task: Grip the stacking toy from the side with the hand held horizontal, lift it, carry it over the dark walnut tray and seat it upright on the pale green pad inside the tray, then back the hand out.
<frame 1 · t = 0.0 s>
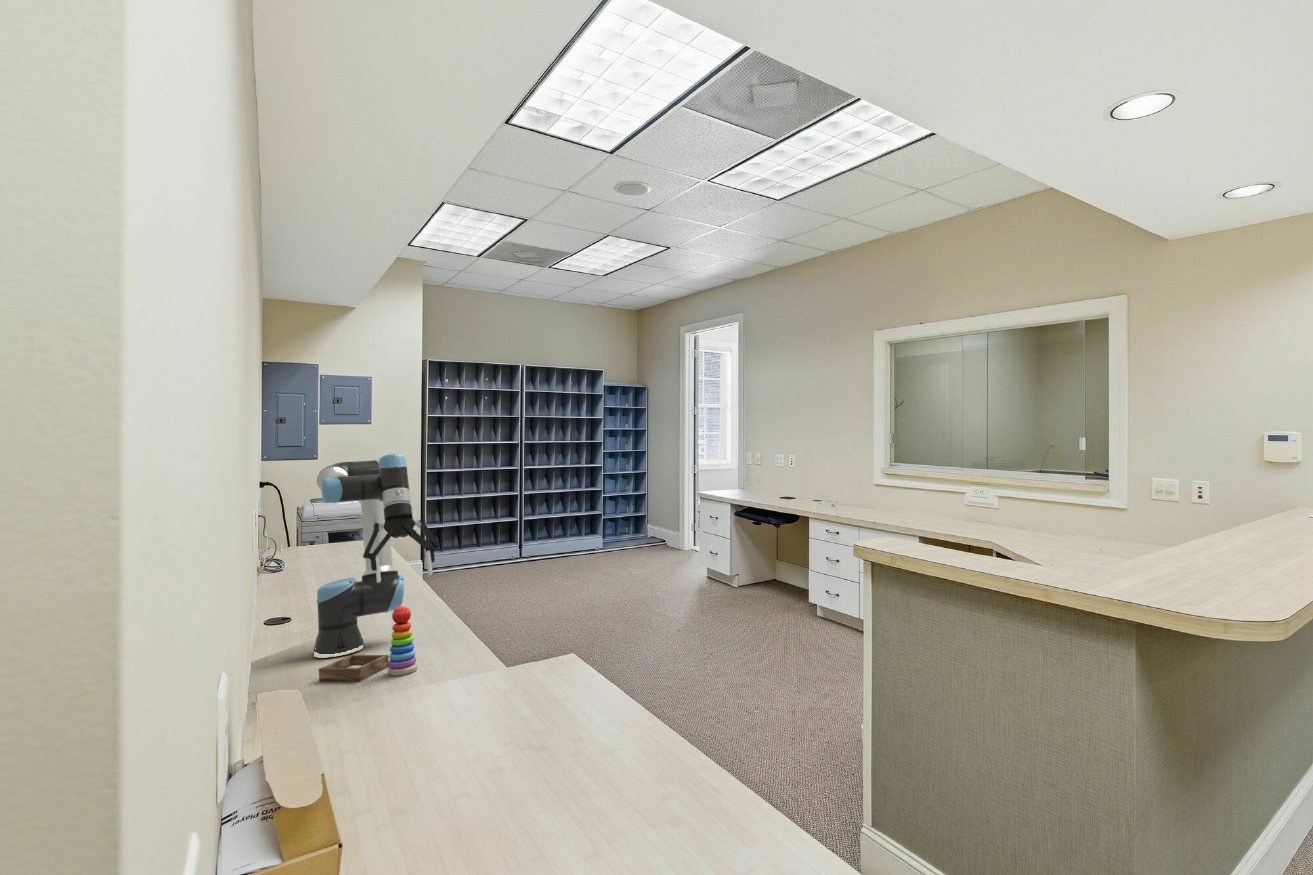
hand: (405, 578, 174), 28 cm above the counter, tool tilted 20°, fingers open, 13 cm apart
stacking toy: (402, 672, 180), on the counter
tray: (355, 673, 181), on the counter
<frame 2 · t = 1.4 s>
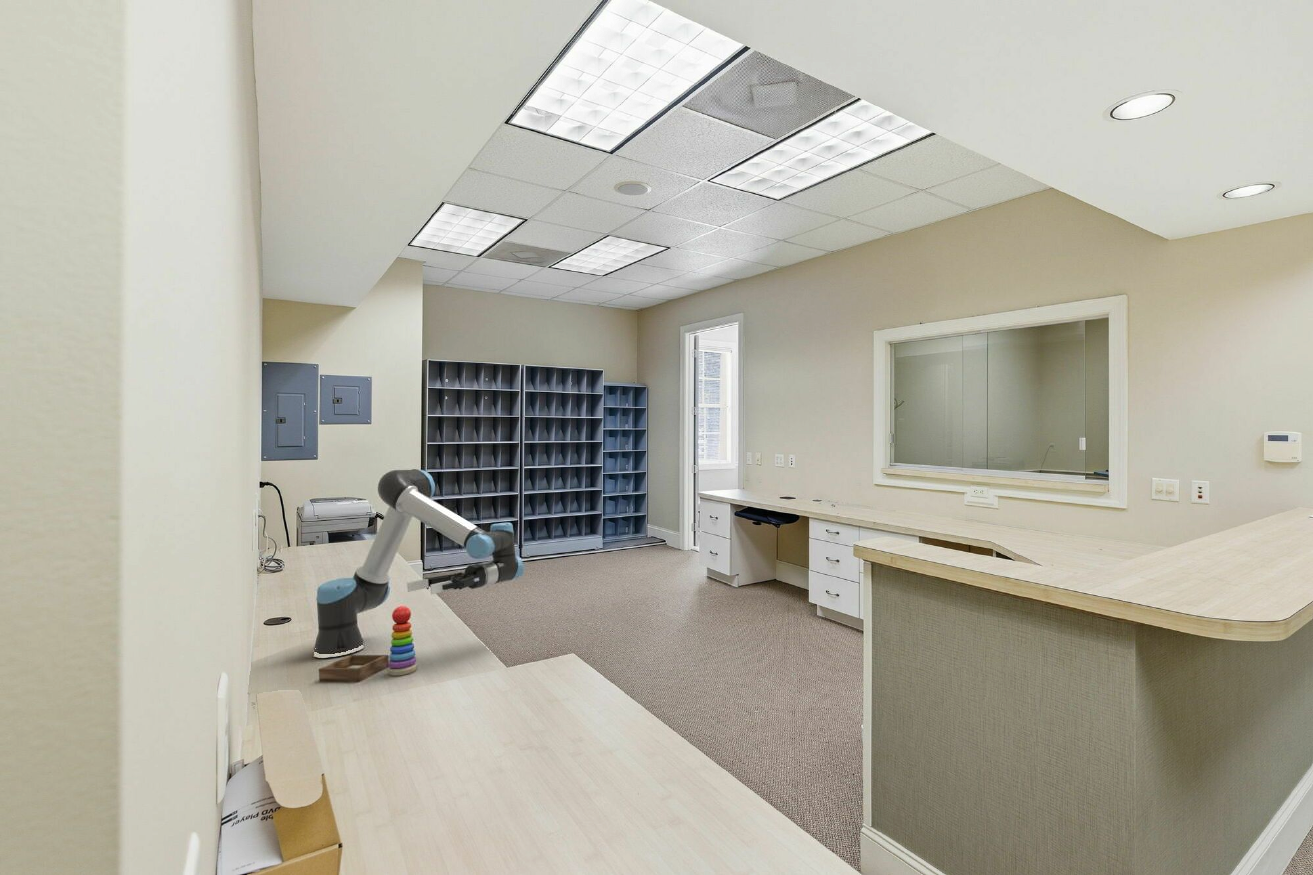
hand: (419, 588, 186), 23 cm above the counter, tool horizontal, fingers open, 13 cm apart
nothing on the counter moved.
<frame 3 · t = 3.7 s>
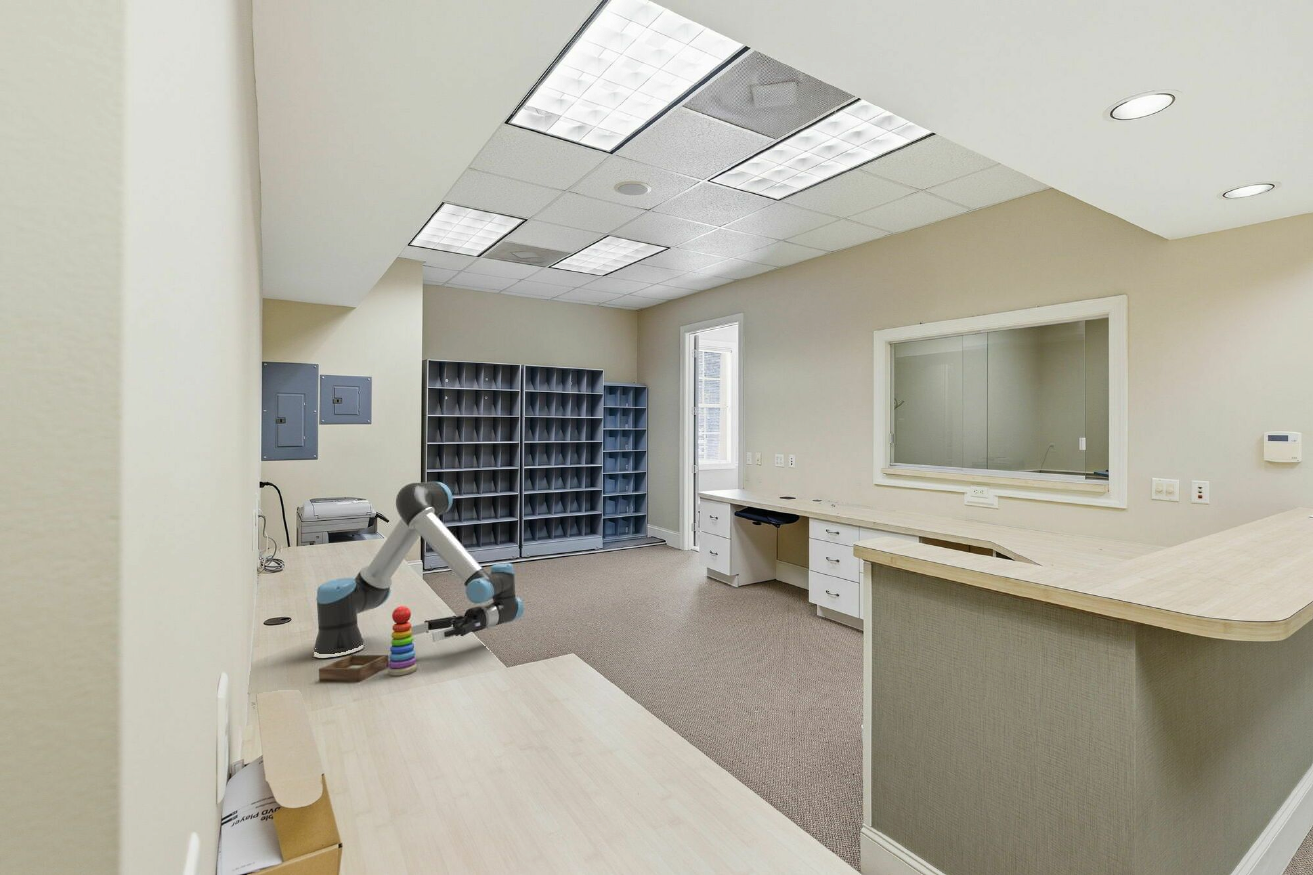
hand: (420, 634, 184), 9 cm above the counter, tool horizontal, fingers open, 13 cm apart
nothing on the counter moved.
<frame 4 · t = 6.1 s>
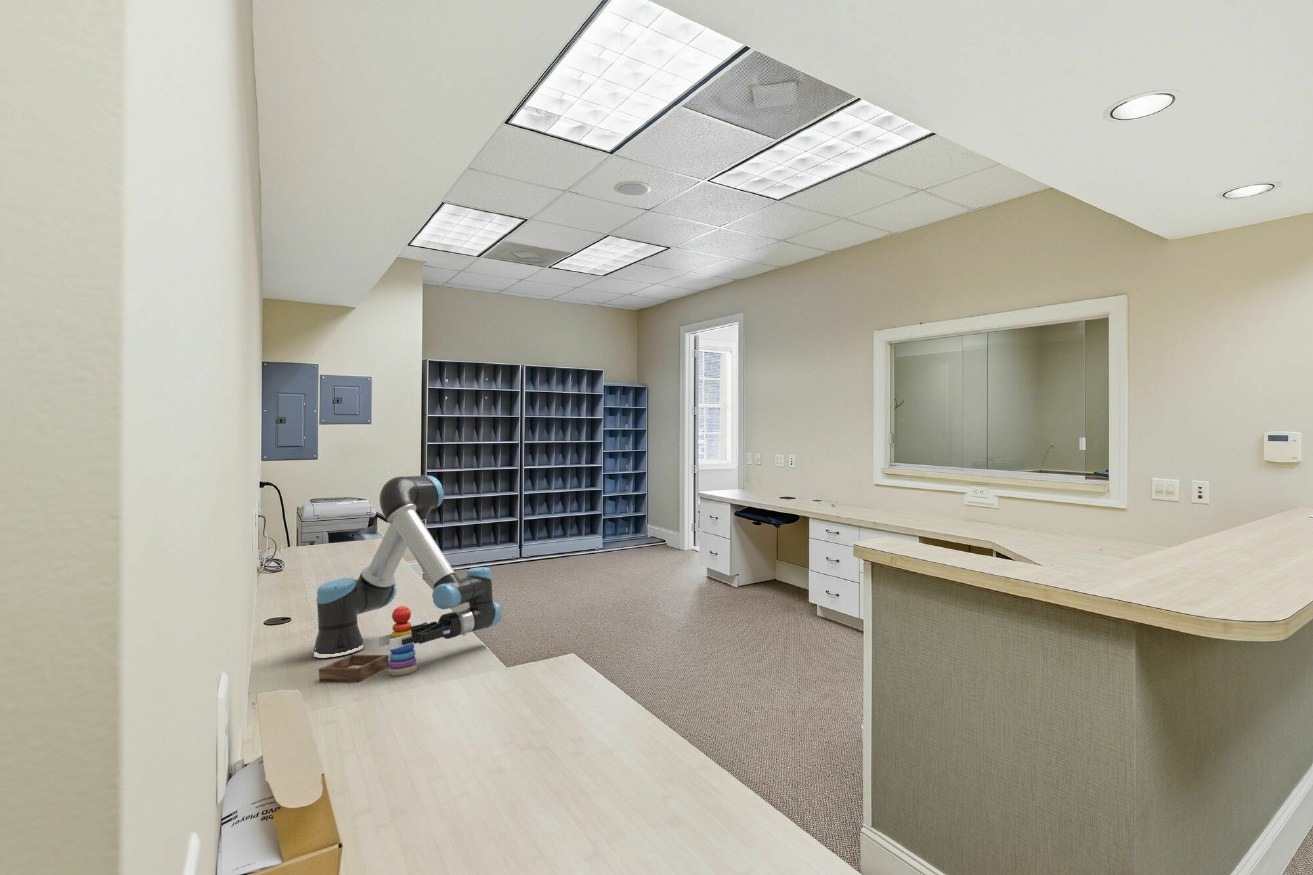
hand: (384, 643, 176), 10 cm above the counter, tool horizontal, fingers closed on stacking toy, 6 cm apart
stacking toy: (402, 672, 180), on the counter, touching gripper
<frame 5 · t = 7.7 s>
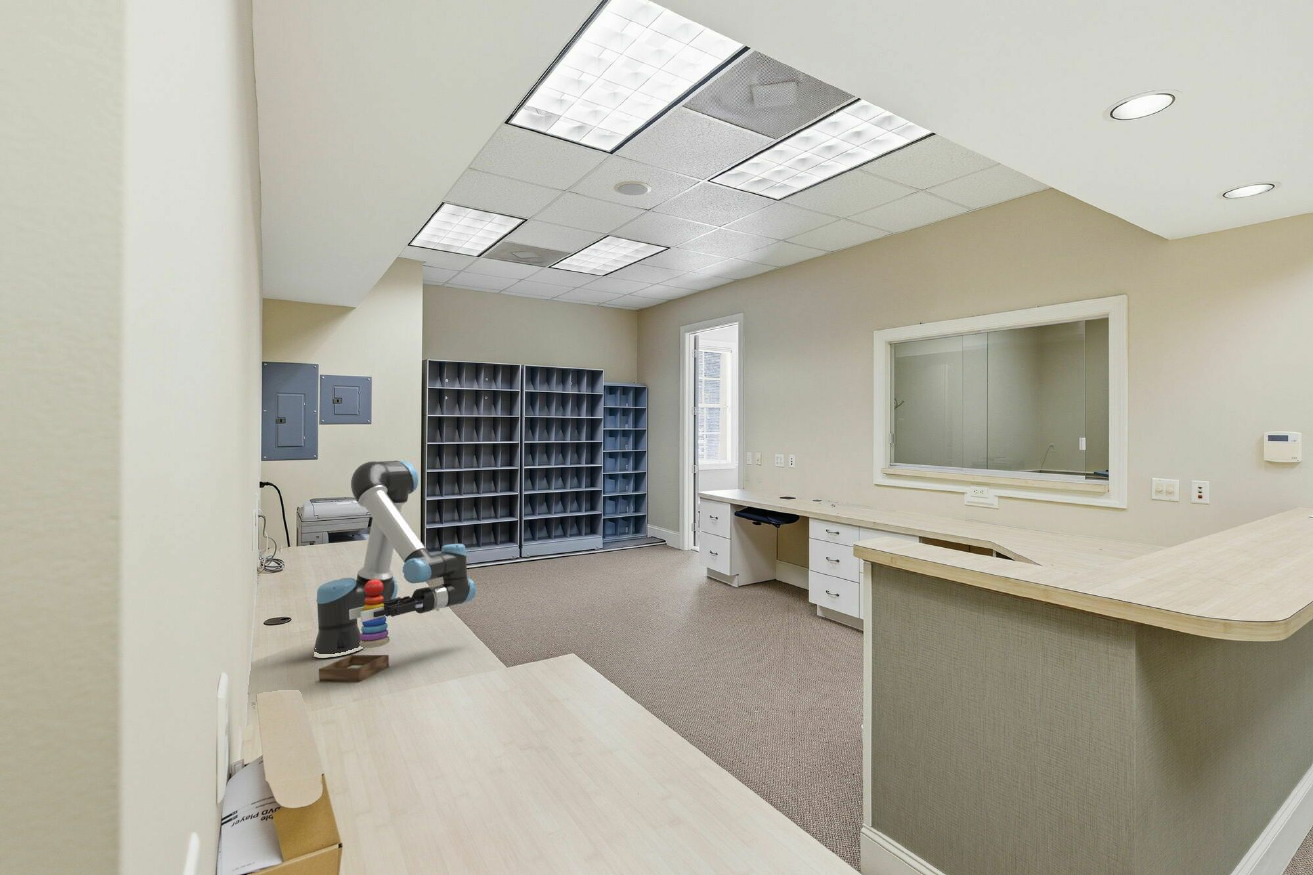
hand: (355, 615, 177), 18 cm above the counter, tool horizontal, fingers closed on stacking toy, 6 cm apart
stacking toy: (374, 645, 180), point 8 cm above the counter, touching gripper
when the fingers open (12 cm above the counter, at t = 9.5 s): stacking toy drops 1 cm, resting on tray.
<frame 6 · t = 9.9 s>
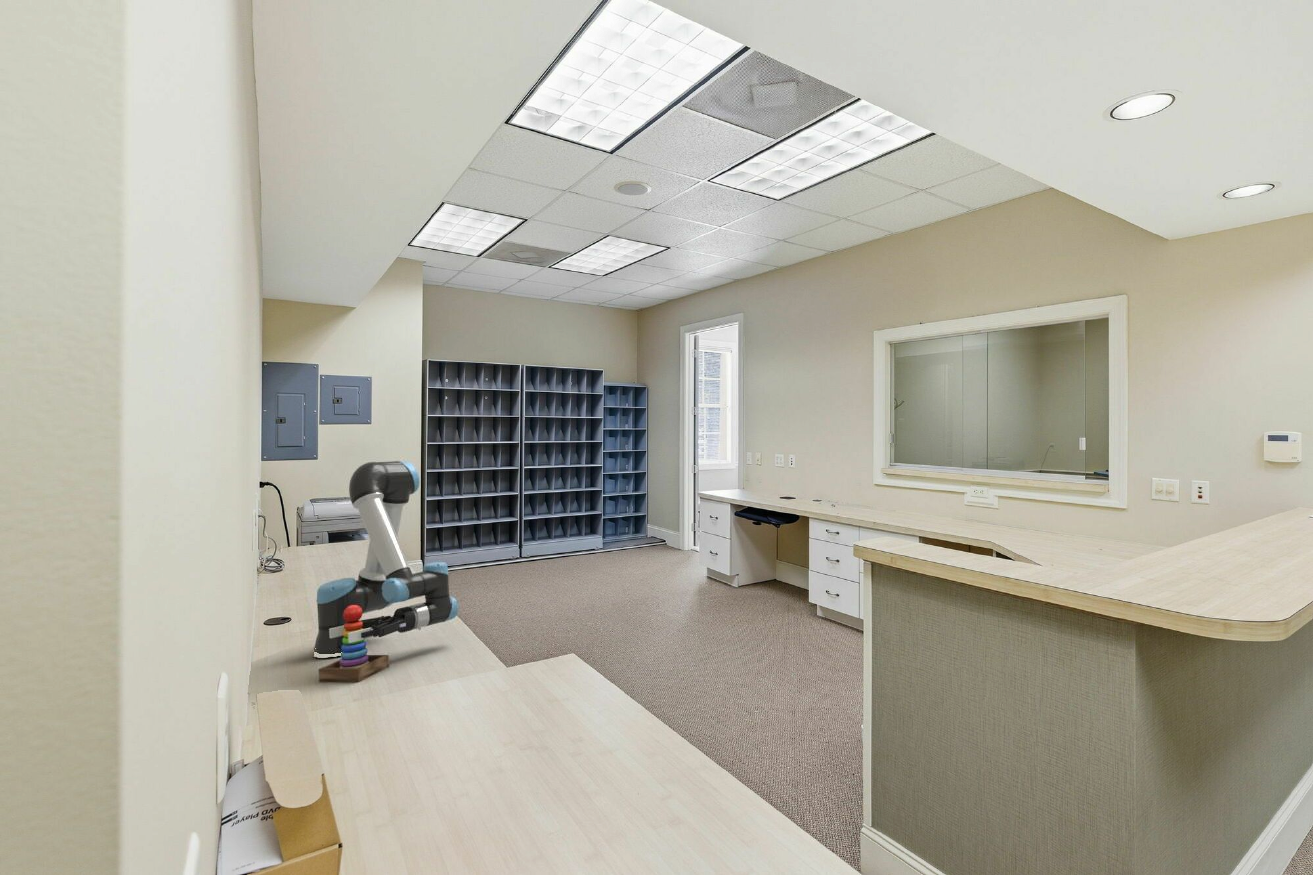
hand: (339, 635, 178), 12 cm above the counter, tool horizontal, fingers open, 11 cm apart
stacking toy: (354, 670, 181), point 1 cm above the counter, touching tray
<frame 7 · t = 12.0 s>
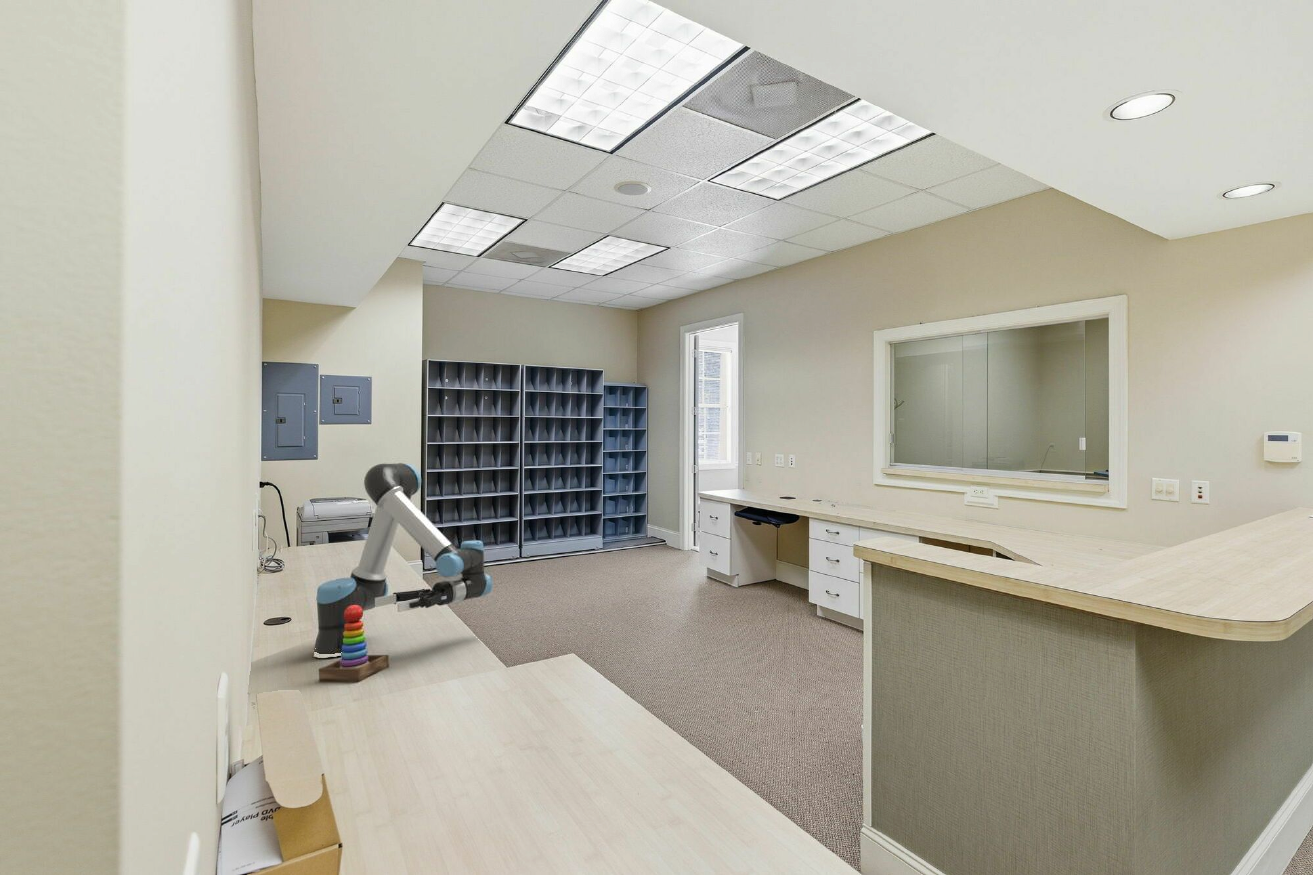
hand: (386, 604, 189), 18 cm above the counter, tool horizontal, fingers open, 13 cm apart
nothing on the counter moved.
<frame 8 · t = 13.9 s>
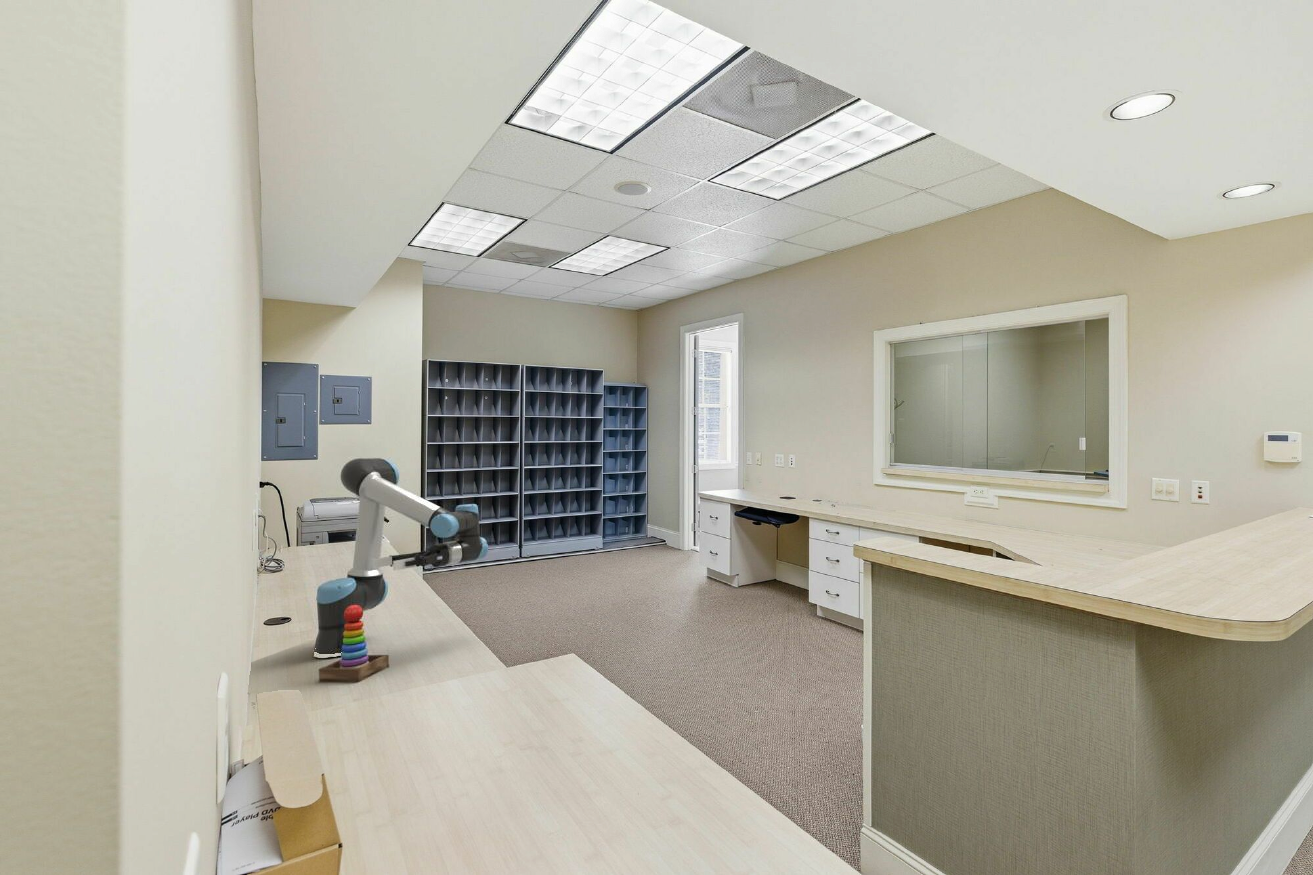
hand: (382, 564, 190), 30 cm above the counter, tool horizontal, fingers open, 13 cm apart
nothing on the counter moved.
at the end: stacking toy inside the target area on the tray (0.1 cm from its centre), point 0.8 cm above the tray's base; stacking toy tilted 0°; the gripper is holding nothing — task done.
